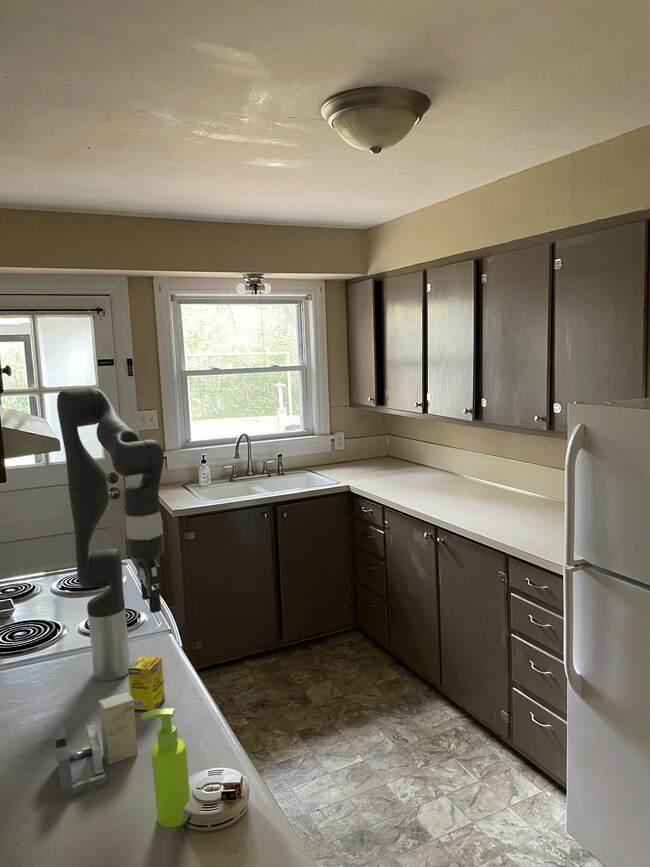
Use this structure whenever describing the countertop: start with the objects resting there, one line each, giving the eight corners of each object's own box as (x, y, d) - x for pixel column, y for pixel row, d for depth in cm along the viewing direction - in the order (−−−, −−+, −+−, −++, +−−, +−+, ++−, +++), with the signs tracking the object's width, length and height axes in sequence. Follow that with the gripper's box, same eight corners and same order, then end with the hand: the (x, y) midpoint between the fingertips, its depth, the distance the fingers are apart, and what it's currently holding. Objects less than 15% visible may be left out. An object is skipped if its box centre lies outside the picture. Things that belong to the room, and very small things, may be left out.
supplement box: (154, 713, 148) (150, 669, 147) (131, 712, 150) (126, 667, 148) (166, 700, 154) (162, 656, 153) (143, 698, 155) (139, 655, 154)
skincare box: (108, 765, 130) (102, 709, 128) (102, 755, 134) (97, 700, 132) (139, 754, 133) (134, 699, 132) (133, 743, 137) (127, 690, 136)
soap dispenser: (154, 806, 117) (145, 704, 115) (193, 802, 118) (184, 700, 115) (148, 830, 111) (138, 722, 109) (189, 825, 112) (179, 718, 109)
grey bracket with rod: (57, 765, 131) (53, 729, 130) (98, 752, 135) (95, 717, 134) (62, 799, 120) (58, 761, 119) (106, 785, 124) (103, 747, 123)
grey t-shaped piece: (58, 762, 130) (55, 735, 129) (97, 751, 133) (94, 724, 133) (62, 790, 121) (59, 760, 121) (103, 777, 125) (100, 748, 124)
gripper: (121, 528, 143) (128, 598, 145) (133, 544, 130) (140, 620, 132) (155, 523, 146) (161, 591, 148) (170, 537, 133) (176, 612, 135)
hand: (151, 605), depth 140 cm, fingers open, 8 cm apart
